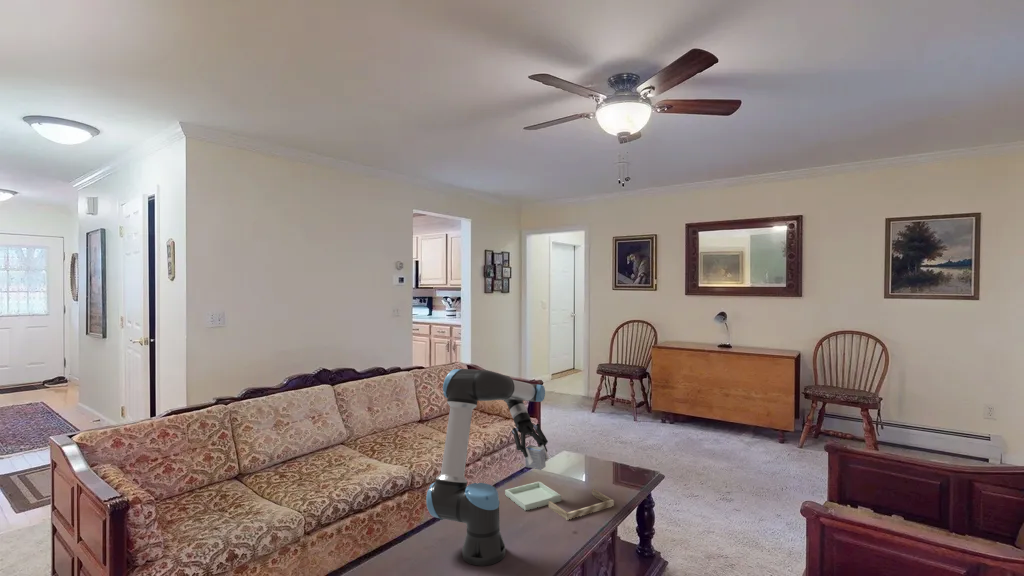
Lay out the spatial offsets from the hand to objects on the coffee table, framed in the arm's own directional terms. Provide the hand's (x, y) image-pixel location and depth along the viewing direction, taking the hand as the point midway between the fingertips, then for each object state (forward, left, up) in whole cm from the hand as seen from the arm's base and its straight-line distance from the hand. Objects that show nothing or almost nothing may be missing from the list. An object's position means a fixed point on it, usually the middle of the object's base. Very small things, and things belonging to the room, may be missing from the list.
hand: (539, 461), depth 215 cm
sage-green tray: (-1, +5, -17) cm, 18 cm away
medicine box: (0, +4, -4) cm, 5 cm away
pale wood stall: (+12, -14, -17) cm, 25 cm away
